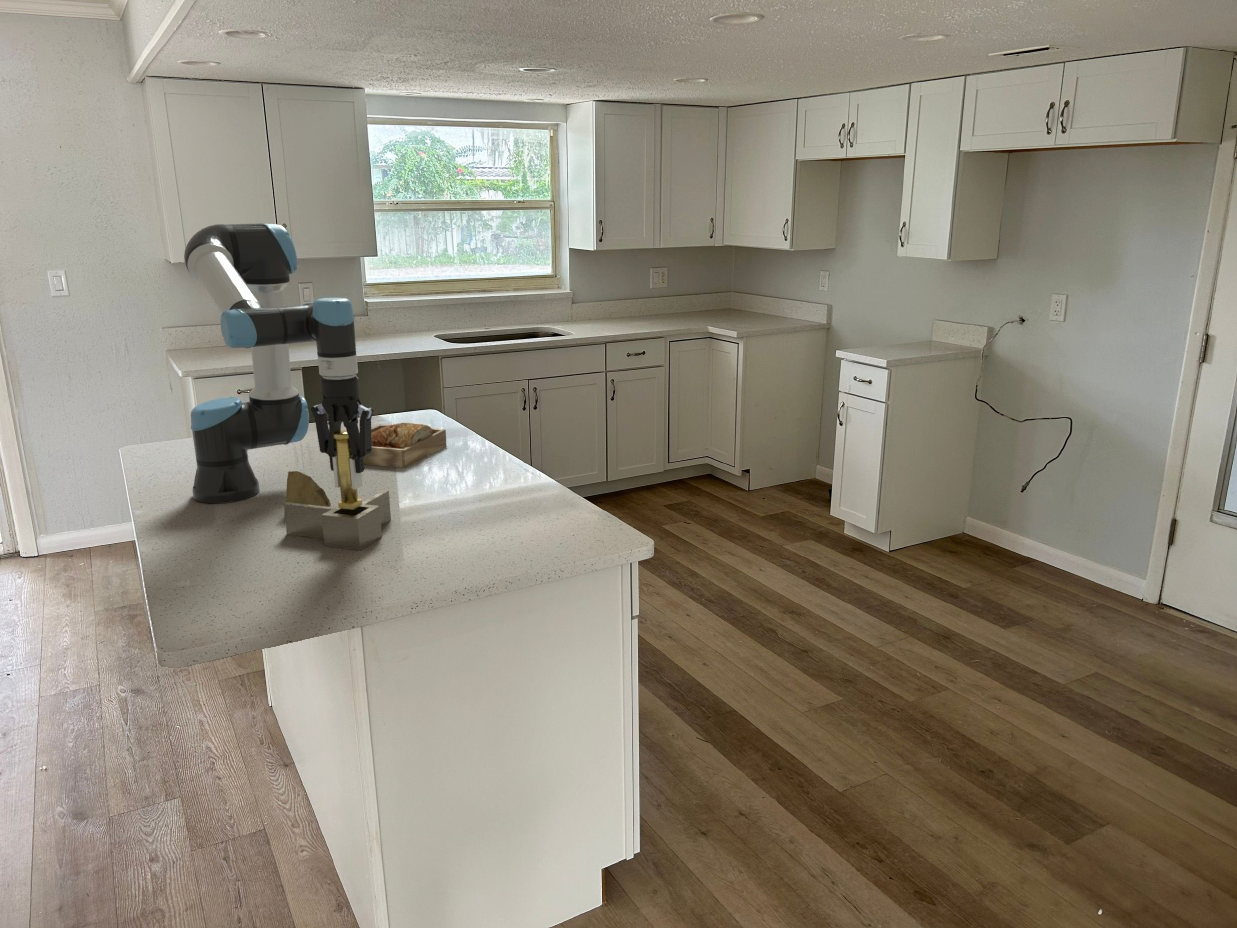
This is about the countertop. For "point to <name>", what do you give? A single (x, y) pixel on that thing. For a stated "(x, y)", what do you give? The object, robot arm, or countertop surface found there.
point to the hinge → (340, 522)
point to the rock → (304, 490)
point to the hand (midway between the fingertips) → (348, 486)
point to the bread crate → (406, 450)
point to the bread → (400, 435)
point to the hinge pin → (345, 472)
